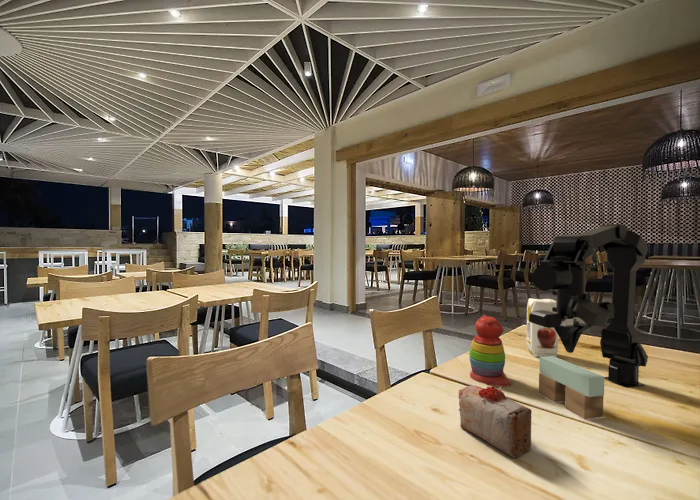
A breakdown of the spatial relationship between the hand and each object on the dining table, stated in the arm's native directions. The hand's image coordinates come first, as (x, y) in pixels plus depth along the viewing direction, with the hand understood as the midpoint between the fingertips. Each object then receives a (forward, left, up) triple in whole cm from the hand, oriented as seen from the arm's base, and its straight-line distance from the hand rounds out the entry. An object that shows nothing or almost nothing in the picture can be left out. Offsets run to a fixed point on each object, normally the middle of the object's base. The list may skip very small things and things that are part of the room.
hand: (569, 352), depth 83 cm
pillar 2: (+2, +6, -12) cm, 13 cm away
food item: (+27, +9, -13) cm, 31 cm away
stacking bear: (+11, -16, -12) cm, 23 cm away
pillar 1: (+2, -2, -12) cm, 12 cm away
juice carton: (-20, -31, -12) cm, 39 cm away
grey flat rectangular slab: (-2, +2, -12) cm, 12 cm away
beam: (+2, +2, -7) cm, 7 cm away
